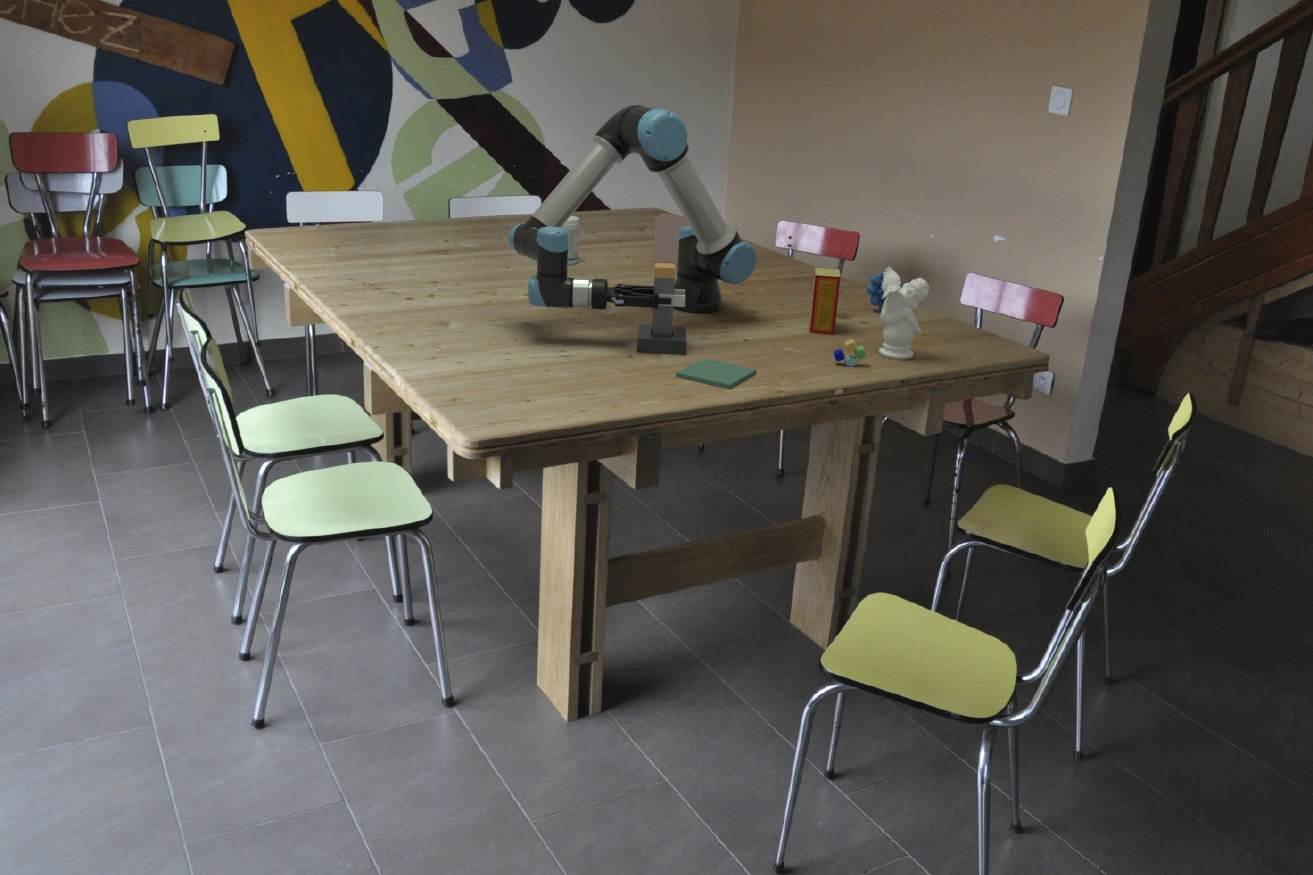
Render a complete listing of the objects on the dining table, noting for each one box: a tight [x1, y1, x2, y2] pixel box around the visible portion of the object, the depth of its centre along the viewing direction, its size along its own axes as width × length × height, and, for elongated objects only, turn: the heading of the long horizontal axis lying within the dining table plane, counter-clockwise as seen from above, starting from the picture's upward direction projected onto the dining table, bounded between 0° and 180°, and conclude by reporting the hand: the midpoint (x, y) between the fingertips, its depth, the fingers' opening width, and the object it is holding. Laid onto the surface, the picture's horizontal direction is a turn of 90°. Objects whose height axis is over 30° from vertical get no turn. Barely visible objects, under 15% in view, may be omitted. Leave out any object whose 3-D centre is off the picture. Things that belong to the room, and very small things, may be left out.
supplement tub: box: [561, 215, 580, 266], centre depth 359 cm, size 10×10×15 cm
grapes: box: [866, 270, 905, 312], centre depth 319 cm, size 12×7×12 cm, turn 89°
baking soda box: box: [808, 267, 841, 335], centre depth 299 cm, size 10×6×16 cm
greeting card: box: [652, 212, 689, 263], centre depth 368 cm, size 11×7×15 cm, turn 59°
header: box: [636, 323, 687, 355], centre depth 279 cm, size 13×12×4 cm
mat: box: [675, 357, 757, 390], centre depth 260 cm, size 14×14×1 cm
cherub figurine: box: [878, 265, 930, 360], centre depth 278 cm, size 12×12×22 cm
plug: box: [651, 262, 676, 336], centre depth 276 cm, size 5×5×18 cm
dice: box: [833, 339, 867, 367], centre depth 272 cm, size 8×3×6 cm, turn 89°
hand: (684, 298), depth 276 cm, fingers closed on plug, 5 cm apart
